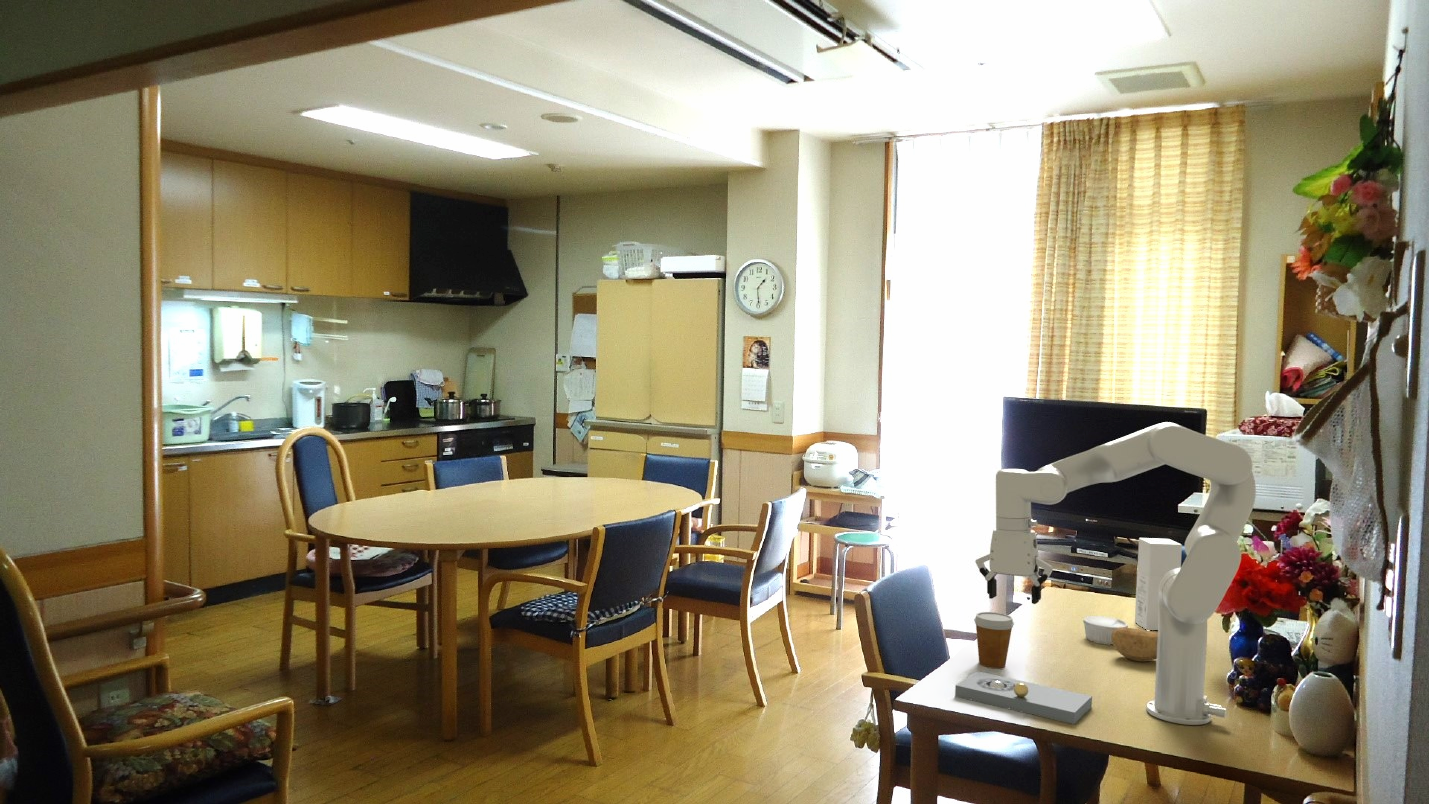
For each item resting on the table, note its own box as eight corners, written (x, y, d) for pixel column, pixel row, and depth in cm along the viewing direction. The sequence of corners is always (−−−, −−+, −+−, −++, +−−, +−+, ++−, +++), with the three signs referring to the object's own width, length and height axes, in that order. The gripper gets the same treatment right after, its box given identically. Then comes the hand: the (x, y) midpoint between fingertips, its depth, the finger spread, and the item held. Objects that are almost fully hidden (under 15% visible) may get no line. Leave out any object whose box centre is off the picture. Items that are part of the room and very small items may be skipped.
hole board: (1091, 707, 217) (1092, 696, 217) (1074, 724, 206) (1074, 712, 206) (976, 681, 232) (977, 671, 232) (955, 696, 221) (955, 685, 221)
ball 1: (1006, 679, 223) (991, 679, 225) (1000, 682, 220) (985, 682, 222) (1008, 694, 222) (993, 695, 224) (1002, 698, 219) (987, 698, 221)
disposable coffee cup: (974, 656, 252) (976, 609, 251) (1013, 661, 248) (1015, 614, 248) (970, 667, 243) (972, 618, 242) (1010, 672, 239) (1012, 623, 239)
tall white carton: (1177, 632, 280) (1182, 544, 279) (1146, 630, 281) (1150, 543, 280) (1165, 623, 289) (1169, 538, 288) (1134, 622, 290) (1138, 537, 288)
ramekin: (1133, 647, 265) (1134, 627, 264) (1091, 645, 265) (1092, 626, 264) (1117, 635, 276) (1118, 616, 276) (1076, 634, 276) (1077, 615, 276)
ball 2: (1029, 696, 215) (1030, 683, 215) (1025, 700, 213) (1025, 686, 212) (1016, 693, 217) (1016, 680, 217) (1011, 697, 214) (1012, 683, 214)
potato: (1171, 669, 246) (1173, 637, 245) (1110, 661, 251) (1111, 630, 250) (1169, 658, 255) (1170, 628, 254) (1110, 651, 260) (1111, 621, 259)
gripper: (1057, 525, 220) (1057, 601, 221) (981, 519, 230) (982, 592, 231) (1047, 529, 214) (1047, 608, 215) (970, 523, 224) (970, 598, 225)
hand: (1013, 600), depth 223 cm, fingers open, 9 cm apart
